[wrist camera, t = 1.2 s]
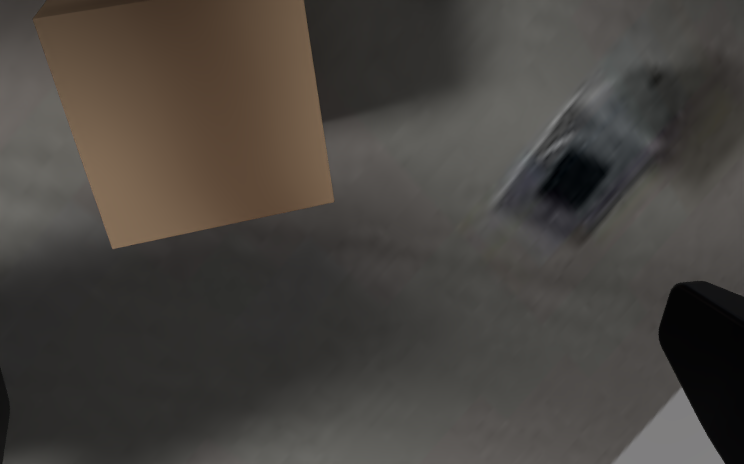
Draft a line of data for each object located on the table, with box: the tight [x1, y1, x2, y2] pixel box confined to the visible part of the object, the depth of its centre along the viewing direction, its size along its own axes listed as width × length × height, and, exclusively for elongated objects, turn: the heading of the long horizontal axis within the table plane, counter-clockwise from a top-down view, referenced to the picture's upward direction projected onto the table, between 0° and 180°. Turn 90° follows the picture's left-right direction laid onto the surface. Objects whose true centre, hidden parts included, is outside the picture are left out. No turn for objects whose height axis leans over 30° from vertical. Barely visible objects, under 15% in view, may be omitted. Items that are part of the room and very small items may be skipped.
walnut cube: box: [33, 0, 334, 249], centre depth 17 cm, size 5×5×5 cm
